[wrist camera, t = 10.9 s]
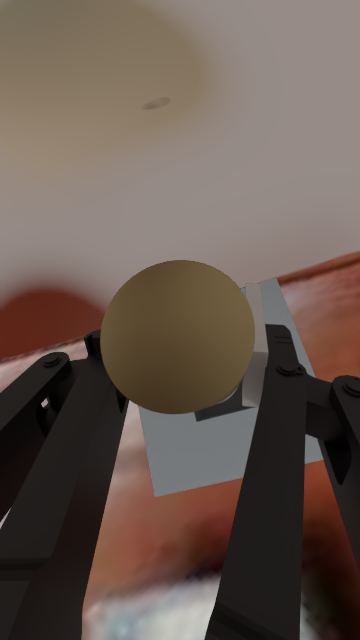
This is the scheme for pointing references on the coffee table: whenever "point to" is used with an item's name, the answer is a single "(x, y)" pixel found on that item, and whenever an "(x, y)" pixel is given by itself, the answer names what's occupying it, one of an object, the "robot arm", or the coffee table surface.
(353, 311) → the coffee table surface
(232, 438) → the socket block
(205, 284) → the peg
